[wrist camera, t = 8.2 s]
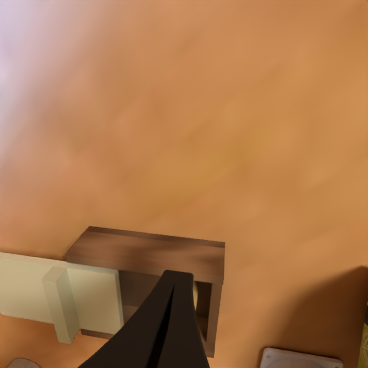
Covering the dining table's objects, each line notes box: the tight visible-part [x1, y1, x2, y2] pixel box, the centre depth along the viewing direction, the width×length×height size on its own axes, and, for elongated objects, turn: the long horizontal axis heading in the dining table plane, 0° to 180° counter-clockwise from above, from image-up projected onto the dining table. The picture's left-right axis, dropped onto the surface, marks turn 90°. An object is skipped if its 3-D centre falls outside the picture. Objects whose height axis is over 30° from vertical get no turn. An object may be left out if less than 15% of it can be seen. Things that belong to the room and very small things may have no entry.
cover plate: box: [0, 252, 124, 344], centre depth 23 cm, size 13×8×2 cm, turn 88°
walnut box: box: [65, 226, 225, 358], centre depth 25 cm, size 13×10×4 cm
